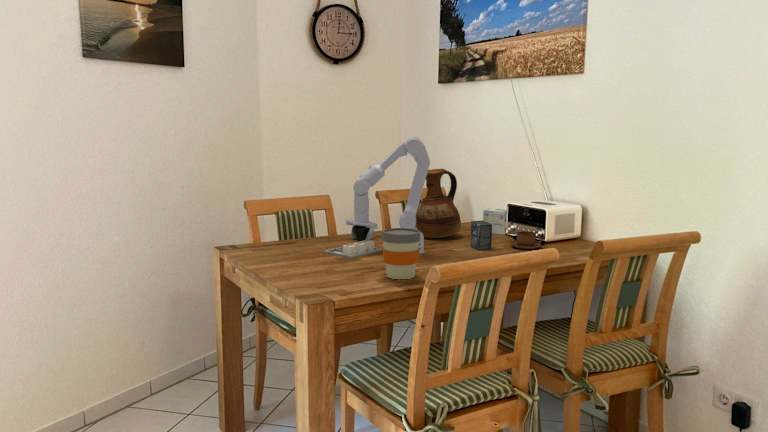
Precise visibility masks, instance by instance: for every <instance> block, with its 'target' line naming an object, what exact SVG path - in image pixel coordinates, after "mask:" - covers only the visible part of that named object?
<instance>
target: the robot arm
mask: <svg viewBox="0 0 768 432" xmlns="http://www.w3.org/2000/svg"><path fill="white" fill-rule="evenodd" d="M408 154H409V155H410V156H412V157H413V159H414V161H415V163H416V164H417V165H416V169H415V172H414V176H413V180H412V183H411V186H410V190H409V193H408V198H407V201H406V204H405V208H404V211H403V212H402V213H401V215H400V216H399V221H398V223H399V224H398V225H399V228H410V229H416V230H417V228H416V227H415V226H416V212H417V208H418V206H419V204H420V202H421V198H422V197H421V196H422V193H423V190H424V187H425V183H426V176H427V172H428V170H430V169H429V168H430V164H431V160H430V157H429V153H428V152H427V148H426V146H425V144H424V142H423V141H422V140H421V139H420V138H419V137H417V136H412V137H409V138H408V139H407V140H406V141H404V142H402V143H401V144H399V145H398V146H397V147H395V148H394V149H393V151H391V152H390V154H388V156H386V158H384V159H383V160H382V161H381V162H380V163H379V164H373V165H369V166H368V170H366V171H365V172H363V174H361V175H359V179H357V180H356V181H355V182H354V184H353V185H352V186H353V187H352V188H353V191H354V193H353V196H354V198H353V219H350V218H349V219H345V225H346V226H352V227H353V226H355V227H354V228H353V231H354V233H355V235H356V238H355V239H356V242H360V241H363V240H366V237H367V234H368V232H369V230H370V228H372V229H374V230H377V229H378V223H377V222H372V221H370V198H369V191H370V188H372V187H374V186H375V185H376V184H377V183H378V182H379V181H380V180H382V179H383V177H385V171H386V170H387V169H388V168H389V167H390V166H391V165H393V164H394V163H395V162H396V161H397V160H398V159H399V158H400V157H405V156H408ZM424 238H425V237H424V236H423V233H421V232H420V241H419V249H420V250H419V255H420V254H421V255H422V254H425V251H424V250H425V249H424V247H425V244H424V243H425V241H424V240H425V239H424Z"/></svg>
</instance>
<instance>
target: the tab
mask: <svg viewBox="0 0 768 432" xmlns="http://www.w3.org/2000/svg"><path fill="white" fill-rule="evenodd" d="M352 244H353V243H347V244H344V245H342V247H343V254H345V255H350V256H352V255H356V246H354V245H352Z"/></svg>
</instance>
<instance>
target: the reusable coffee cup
mask: <svg viewBox="0 0 768 432" xmlns="http://www.w3.org/2000/svg"><path fill="white" fill-rule="evenodd" d="M381 241H382V245H383V247H382V250H383V251H382V259H383V263H385V271H386V277H389V278H393V279H408V278H412V277H414V278H415V275H416V267H417V264H418V262H419V255H420V253H419V250H420V249H419V241H420V231H419V230H416V229H410V228H400V227H394V228H393V227H392V228H386V229H383V230H382V234H381ZM389 278H388V279H389ZM393 279H392V280H393Z"/></svg>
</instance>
